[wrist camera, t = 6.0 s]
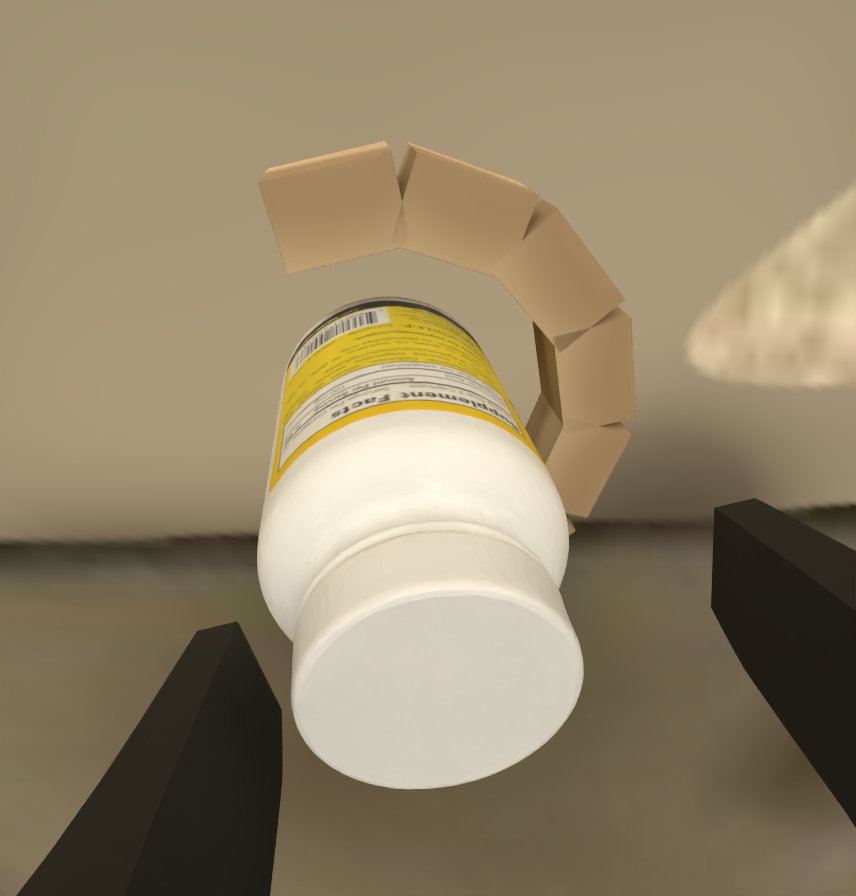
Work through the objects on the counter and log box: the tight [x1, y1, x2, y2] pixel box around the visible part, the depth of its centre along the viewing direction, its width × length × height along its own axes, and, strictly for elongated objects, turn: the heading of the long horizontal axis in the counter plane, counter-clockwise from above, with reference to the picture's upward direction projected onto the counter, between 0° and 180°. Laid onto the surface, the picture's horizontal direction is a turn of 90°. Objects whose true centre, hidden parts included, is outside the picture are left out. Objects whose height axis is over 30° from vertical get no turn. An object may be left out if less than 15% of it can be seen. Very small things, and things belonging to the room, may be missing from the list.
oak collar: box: [258, 141, 636, 535], centre depth 16 cm, size 7×12×2 cm, turn 12°
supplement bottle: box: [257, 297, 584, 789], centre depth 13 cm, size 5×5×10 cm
